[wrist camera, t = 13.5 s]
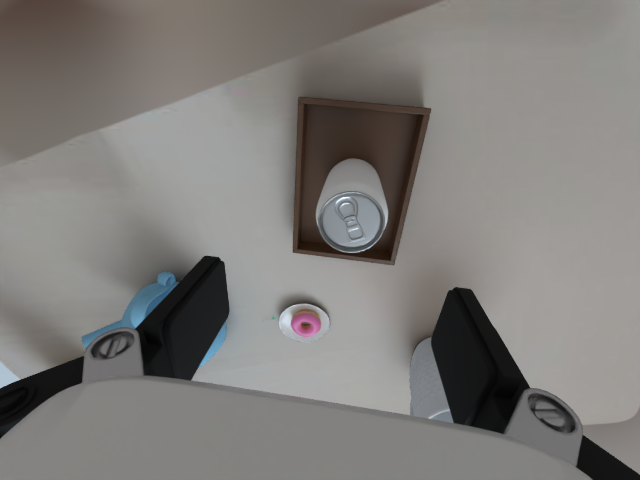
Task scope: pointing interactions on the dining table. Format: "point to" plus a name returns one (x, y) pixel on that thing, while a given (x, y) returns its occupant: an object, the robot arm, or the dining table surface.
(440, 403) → the mug
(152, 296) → the teapot
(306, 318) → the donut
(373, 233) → the can
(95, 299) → the dining table surface
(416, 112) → the tray
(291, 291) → the dining table surface
